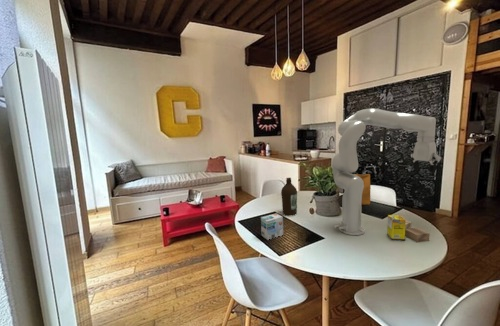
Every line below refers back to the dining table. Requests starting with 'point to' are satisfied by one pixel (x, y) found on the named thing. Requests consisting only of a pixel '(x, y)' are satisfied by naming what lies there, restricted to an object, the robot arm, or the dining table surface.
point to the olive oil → (289, 198)
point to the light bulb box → (272, 226)
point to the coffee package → (365, 189)
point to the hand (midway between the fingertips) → (424, 170)
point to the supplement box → (396, 227)
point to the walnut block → (417, 234)
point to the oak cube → (408, 225)
